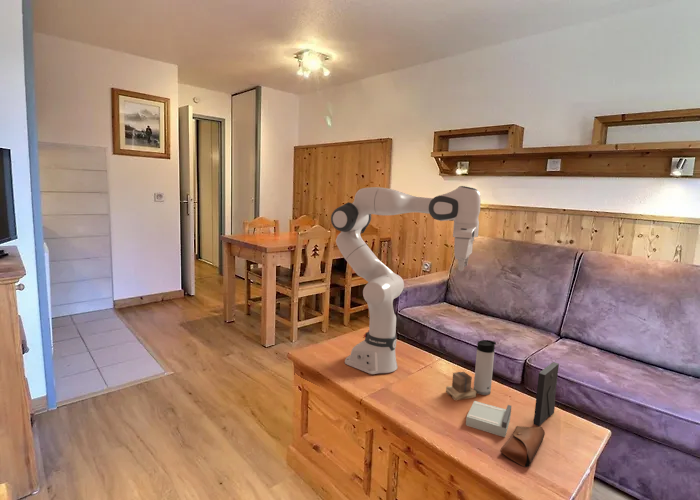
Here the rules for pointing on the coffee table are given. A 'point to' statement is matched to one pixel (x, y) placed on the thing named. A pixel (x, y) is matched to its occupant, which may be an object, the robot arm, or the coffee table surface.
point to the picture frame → (546, 393)
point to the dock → (489, 418)
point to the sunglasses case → (523, 444)
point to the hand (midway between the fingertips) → (462, 268)
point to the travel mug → (484, 367)
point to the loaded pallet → (461, 387)
